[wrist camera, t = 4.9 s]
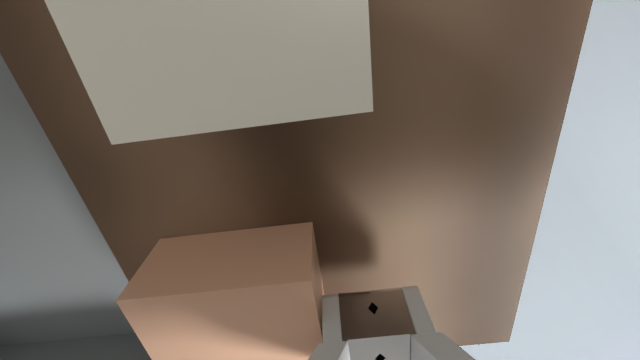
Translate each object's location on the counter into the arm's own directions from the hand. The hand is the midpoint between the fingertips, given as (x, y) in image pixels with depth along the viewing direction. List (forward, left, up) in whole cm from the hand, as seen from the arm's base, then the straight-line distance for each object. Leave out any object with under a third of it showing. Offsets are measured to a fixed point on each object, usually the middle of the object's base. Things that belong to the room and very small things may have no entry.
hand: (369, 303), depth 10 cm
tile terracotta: (+4, 0, -1) cm, 4 cm away
